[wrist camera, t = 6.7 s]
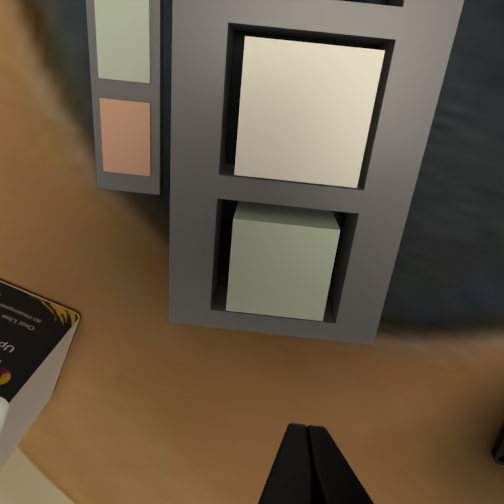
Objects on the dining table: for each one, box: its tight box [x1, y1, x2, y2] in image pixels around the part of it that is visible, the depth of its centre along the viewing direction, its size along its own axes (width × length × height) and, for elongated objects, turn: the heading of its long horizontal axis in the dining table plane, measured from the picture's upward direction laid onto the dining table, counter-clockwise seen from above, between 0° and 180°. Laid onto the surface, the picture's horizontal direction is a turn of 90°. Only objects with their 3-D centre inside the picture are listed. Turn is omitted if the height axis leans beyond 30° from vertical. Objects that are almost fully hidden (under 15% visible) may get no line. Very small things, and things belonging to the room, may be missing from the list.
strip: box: [86, 0, 163, 195], centre depth 17 cm, size 9×3×1 cm, turn 175°
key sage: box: [226, 201, 340, 321], centre depth 19 cm, size 4×4×3 cm
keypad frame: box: [168, 0, 464, 345], centre depth 16 cm, size 20×10×2 cm, turn 174°
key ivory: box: [234, 36, 385, 188], centre depth 15 cm, size 4×4×3 cm
